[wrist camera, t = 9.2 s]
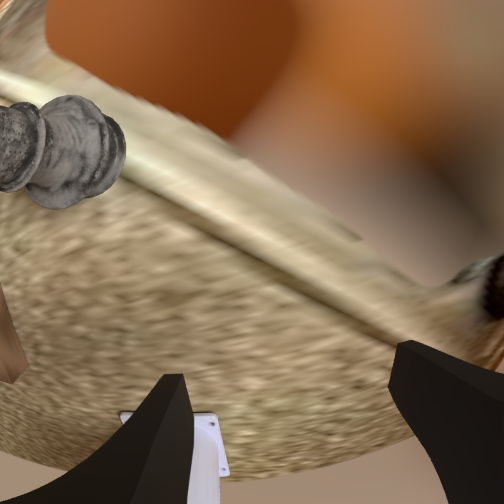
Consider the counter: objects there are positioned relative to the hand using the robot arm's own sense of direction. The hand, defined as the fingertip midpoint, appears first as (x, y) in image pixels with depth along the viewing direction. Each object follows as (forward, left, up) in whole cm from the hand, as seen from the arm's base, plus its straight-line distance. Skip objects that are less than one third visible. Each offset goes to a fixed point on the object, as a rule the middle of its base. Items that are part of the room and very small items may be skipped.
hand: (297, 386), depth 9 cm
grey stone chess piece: (+9, +10, -10) cm, 17 cm away
